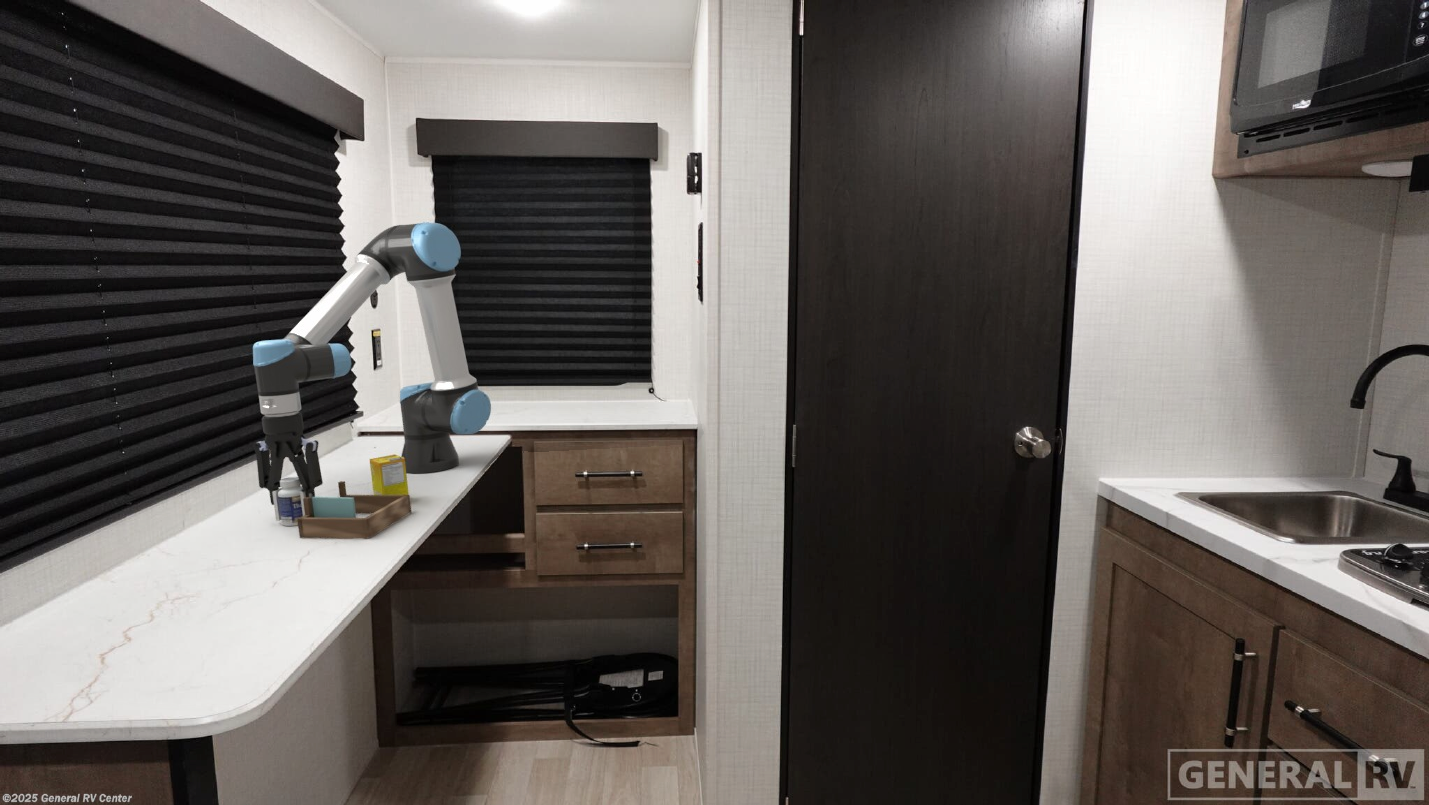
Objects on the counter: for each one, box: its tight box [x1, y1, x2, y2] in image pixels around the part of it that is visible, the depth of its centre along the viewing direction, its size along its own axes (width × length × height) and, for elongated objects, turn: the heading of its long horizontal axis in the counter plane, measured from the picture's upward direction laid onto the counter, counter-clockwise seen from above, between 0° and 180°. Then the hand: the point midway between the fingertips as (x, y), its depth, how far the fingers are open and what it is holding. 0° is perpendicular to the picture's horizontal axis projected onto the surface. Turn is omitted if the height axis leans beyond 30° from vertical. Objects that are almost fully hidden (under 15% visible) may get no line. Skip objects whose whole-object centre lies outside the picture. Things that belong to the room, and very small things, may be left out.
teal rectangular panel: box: [312, 496, 357, 518], centre depth 161 cm, size 9×1×7 cm, turn 79°
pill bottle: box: [278, 476, 303, 527], centre depth 167 cm, size 5×5×10 cm
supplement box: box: [369, 454, 410, 495], centre depth 179 cm, size 6×6×11 cm
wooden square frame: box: [297, 480, 412, 540], centre depth 165 cm, size 17×15×8 cm
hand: (295, 518), depth 168 cm, fingers open, 6 cm apart
